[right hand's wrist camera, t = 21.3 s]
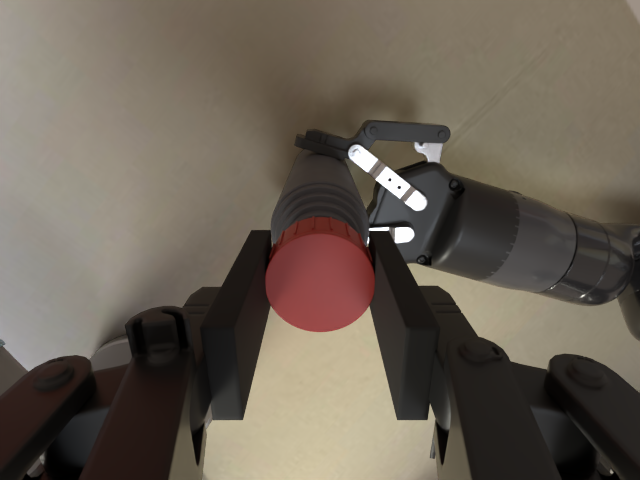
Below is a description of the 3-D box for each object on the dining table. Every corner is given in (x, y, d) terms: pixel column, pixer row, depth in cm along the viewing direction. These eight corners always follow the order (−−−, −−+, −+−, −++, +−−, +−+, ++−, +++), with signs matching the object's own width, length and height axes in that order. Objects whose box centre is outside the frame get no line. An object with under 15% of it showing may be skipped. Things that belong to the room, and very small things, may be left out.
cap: (366, 308, 15) (372, 335, 13) (270, 305, 15) (264, 332, 13) (374, 217, 14) (382, 234, 12) (269, 213, 14) (261, 230, 12)
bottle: (357, 175, 34) (413, 285, 14) (316, 207, 35) (310, 353, 15) (324, 132, 32) (331, 182, 12) (282, 166, 34) (224, 266, 13)
